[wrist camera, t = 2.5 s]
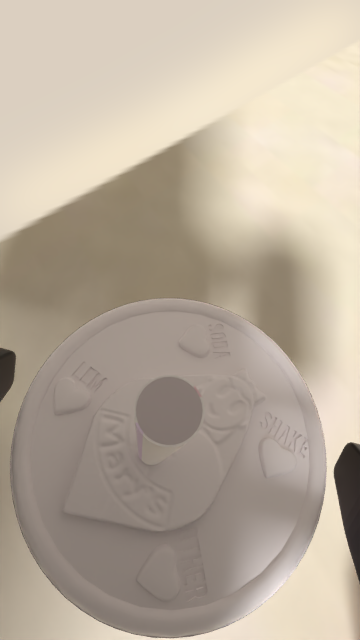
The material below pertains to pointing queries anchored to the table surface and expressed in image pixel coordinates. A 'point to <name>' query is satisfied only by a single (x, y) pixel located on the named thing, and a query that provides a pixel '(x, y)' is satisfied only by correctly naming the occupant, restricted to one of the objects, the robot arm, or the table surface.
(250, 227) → the table surface
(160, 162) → the table surface
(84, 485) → the smoothie
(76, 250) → the table surface
